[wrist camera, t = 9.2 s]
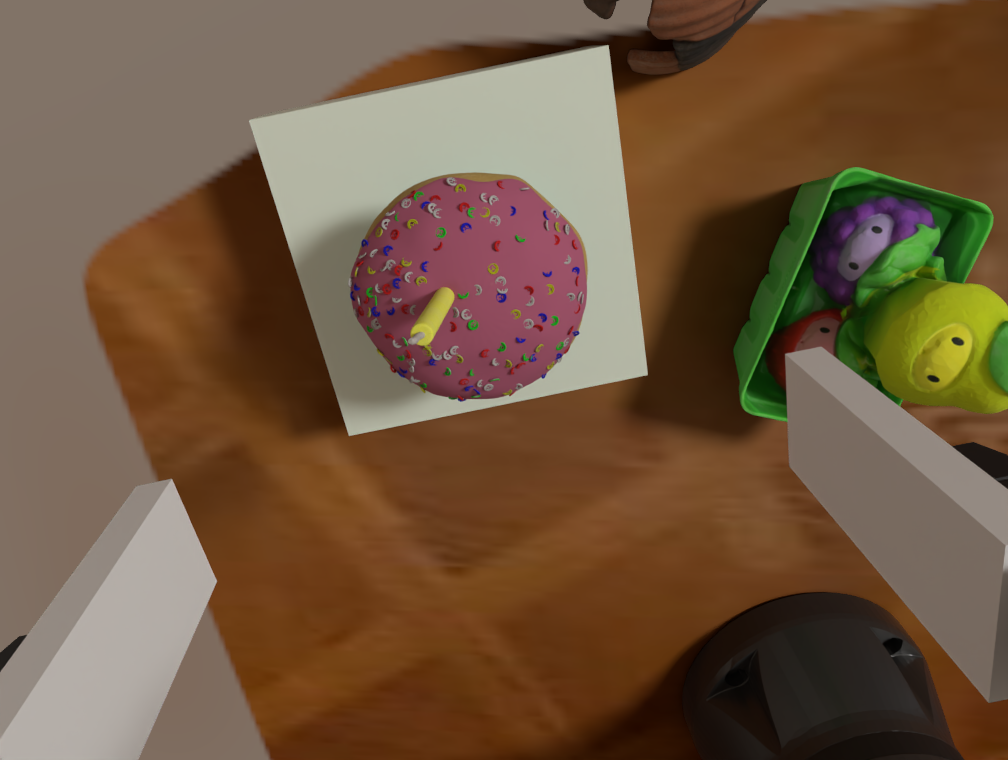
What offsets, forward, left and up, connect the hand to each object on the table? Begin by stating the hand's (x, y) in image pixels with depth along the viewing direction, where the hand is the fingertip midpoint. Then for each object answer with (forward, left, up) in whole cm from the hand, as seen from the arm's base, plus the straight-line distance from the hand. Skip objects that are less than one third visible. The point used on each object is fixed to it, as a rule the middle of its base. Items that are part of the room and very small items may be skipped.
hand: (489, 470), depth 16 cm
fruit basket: (-6, -17, -21) cm, 28 cm away
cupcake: (0, 0, -17) cm, 17 cm away
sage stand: (0, 0, -21) cm, 21 cm away
